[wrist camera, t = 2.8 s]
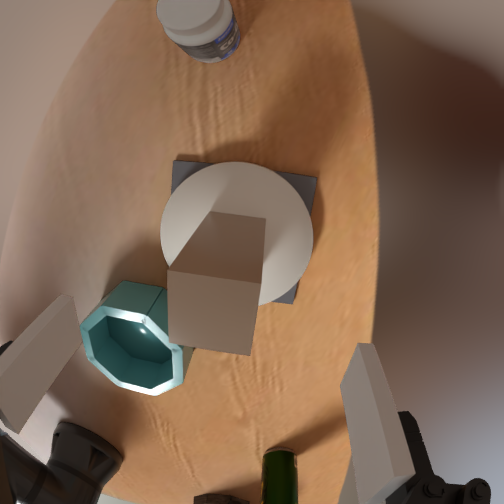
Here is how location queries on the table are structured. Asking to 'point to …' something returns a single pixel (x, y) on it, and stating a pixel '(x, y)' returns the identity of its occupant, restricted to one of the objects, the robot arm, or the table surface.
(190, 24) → the pill bottle
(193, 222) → the lid
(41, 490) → the robot arm
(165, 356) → the bowl
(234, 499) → the mug
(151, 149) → the table surface
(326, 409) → the table surface
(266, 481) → the beer can
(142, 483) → the table surface
